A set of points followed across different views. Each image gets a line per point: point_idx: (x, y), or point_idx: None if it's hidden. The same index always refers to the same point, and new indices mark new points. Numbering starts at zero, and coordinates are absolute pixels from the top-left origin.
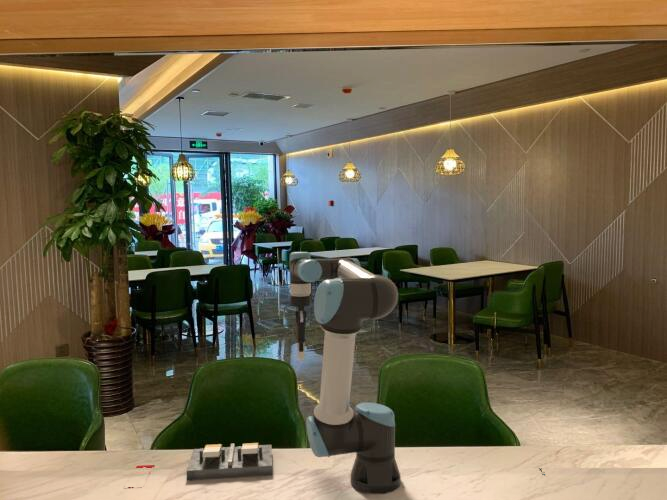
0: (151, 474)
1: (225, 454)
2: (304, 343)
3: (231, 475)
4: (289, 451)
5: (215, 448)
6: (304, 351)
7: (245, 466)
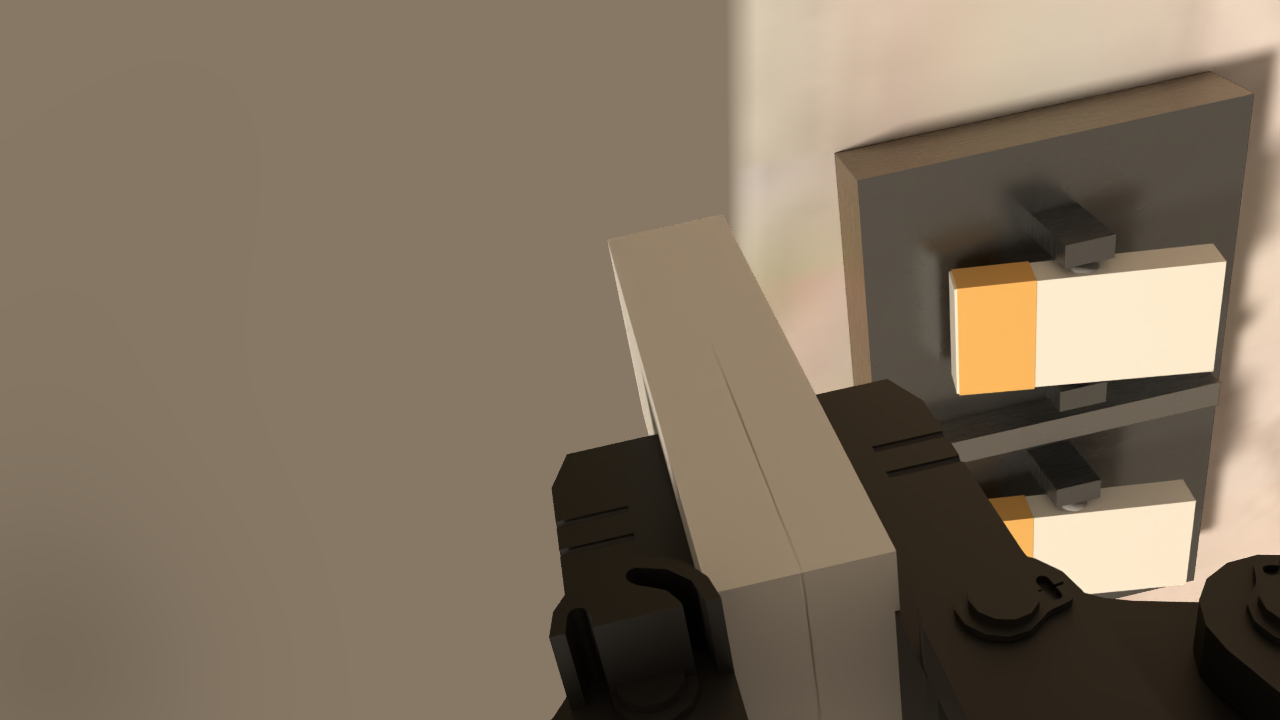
0: None
1: (1000, 455)
2: (878, 525)
3: None
4: (803, 5)
5: (1092, 536)
6: (789, 347)
7: None
